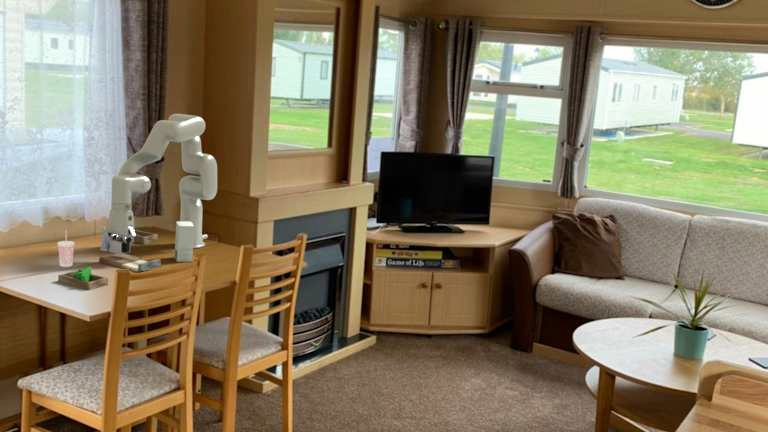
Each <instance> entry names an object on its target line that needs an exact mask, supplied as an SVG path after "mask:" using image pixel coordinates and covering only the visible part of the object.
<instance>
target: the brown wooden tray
mask: <svg viewBox="0 0 768 432" xmlns="http://www.w3.org/2000/svg"><path fill="white" fill-rule="evenodd" d="M75 273H78V269H77V270H73V271H70V272H64V273H62V274H58V275H57V280H58V281H57V282H58V283H62V284H66V285H70V286H73V287H77V288H82V289H85V290H88V291H90V290H93V289H94V290H95V289H97V288H101V286H102V287H105V286H108V285H109V278H108V277H105V276H101V275H98V274H97V275H96V274H93V273H91V274H90V281H89V282H88V281H82V285H81V280H80V279H76V274H75ZM104 285H105V286H104Z"/></svg>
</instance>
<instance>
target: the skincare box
mask: <svg viewBox="0 0 768 432" xmlns="http://www.w3.org/2000/svg"><path fill="white" fill-rule="evenodd" d="M193 238H194V225H193V223H192V222H191V221H180V220H179V221H175V238H174V239H175V240H174V241H175V243H174V256H173V257H174V259H175V260H176V262H177V263H182V262H183V263H185V262H186V263H187V262H190V263H191V261H192V262H193V256H194V255H193V251H194V248H193Z"/></svg>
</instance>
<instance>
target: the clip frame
mask: <svg viewBox="0 0 768 432" xmlns="http://www.w3.org/2000/svg"><path fill="white" fill-rule="evenodd" d="M134 233H135V234H136V237H135V238H134V243H138V244H142V245H146V244H150V243H151V244H152V243H154V242H158V240H159V237H158V236H159V234H156V233H154V232H153V233H151V232H147V231H142V230H138V229H134Z"/></svg>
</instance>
